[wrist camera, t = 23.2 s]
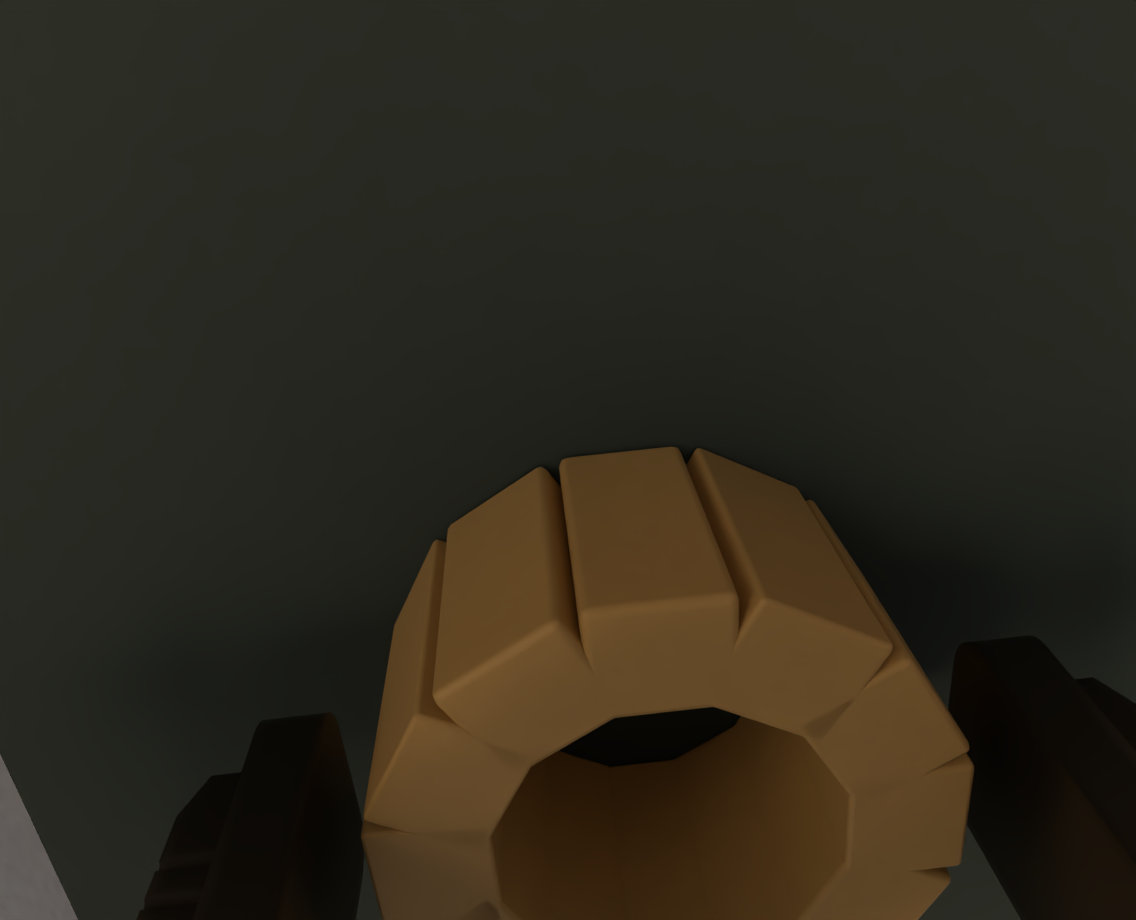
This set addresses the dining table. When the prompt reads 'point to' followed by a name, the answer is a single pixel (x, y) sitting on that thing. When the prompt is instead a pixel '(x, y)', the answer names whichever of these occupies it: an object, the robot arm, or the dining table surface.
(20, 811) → the dining table surface
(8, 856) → the dining table surface
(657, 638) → the segmented tan ring
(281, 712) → the mat
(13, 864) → the dining table surface
